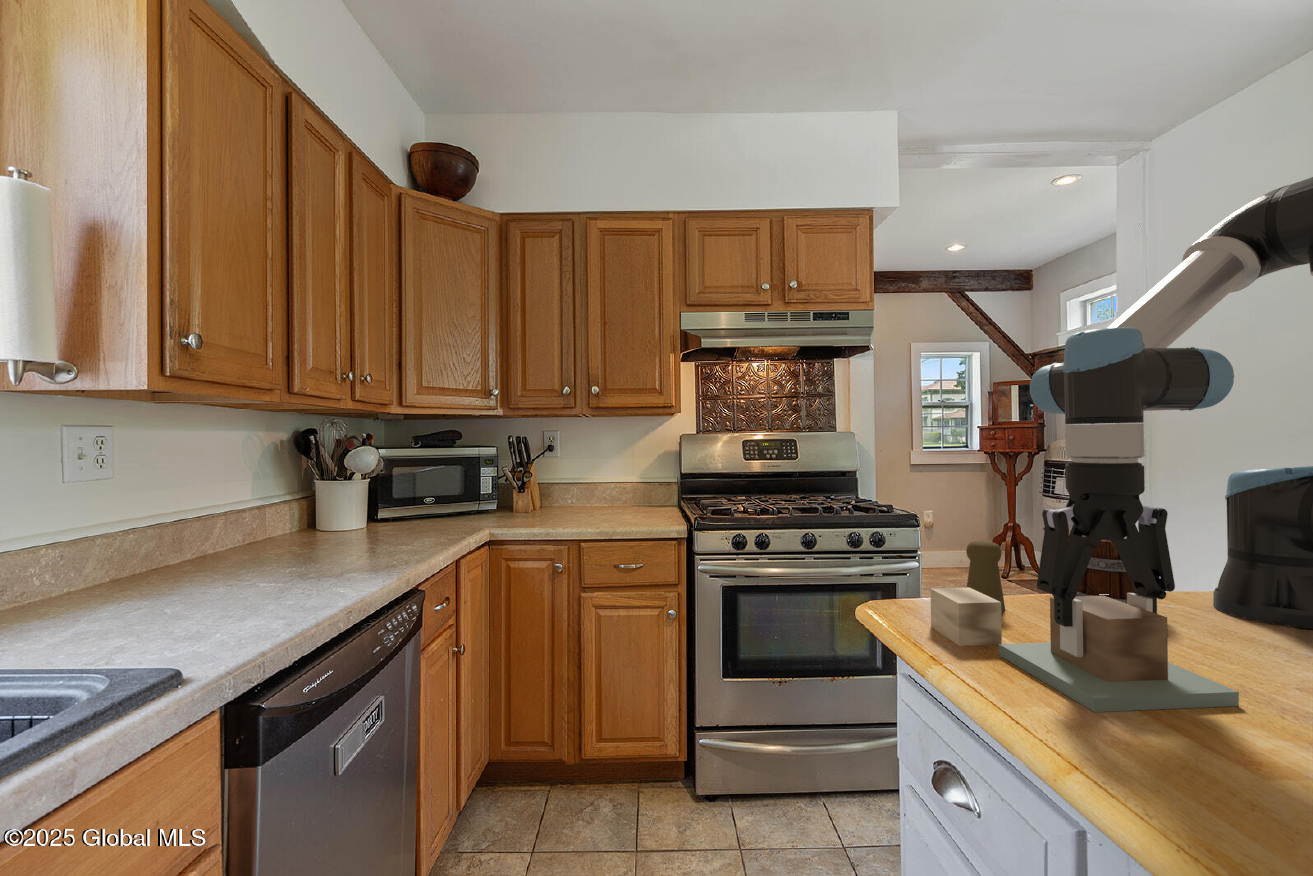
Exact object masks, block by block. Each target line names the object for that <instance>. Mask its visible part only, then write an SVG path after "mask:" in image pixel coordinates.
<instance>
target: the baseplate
mask: <svg viewBox="0 0 1313 876" xmlns="http://www.w3.org/2000/svg"><path fill="white" fill-rule="evenodd" d="M999 655H1000V656H999ZM998 656H999V657H1001V658H1003V659H1004V660H1006V659H1007V660H1006V661H1008V662H1009V661H1010V663H1011V664H1012V665H1014V664H1015V666H1016V665H1017V666H1016V667H1018V668H1020V669H1021V670H1023V671H1025V672H1026V673H1028V674H1029V673H1030V675H1031V676H1032V677H1035V678H1036V679H1038V680H1040V681H1041V682H1043V683H1044V684H1046V685H1048V686H1050V687H1051V688H1053V689H1055V690H1056V691H1058V692H1060V693H1062V694H1063V695H1065V696H1066V697H1068V698H1070V699H1072V700H1074V701H1075V702H1076V703H1078V704H1080V705H1081V706H1083V707H1085V708H1087V709H1089V710H1090V711H1092V712H1094V713H1101V712H1102V713H1104V712H1124V711H1126V712H1127V711H1128V712H1129V711H1146V710H1147V711H1149V710H1150V711H1153V710H1171V709H1172V710H1173V709H1175V710H1176V709H1195V708H1196V709H1197V708H1198V709H1199V708H1200V709H1201V708H1220V707H1221V708H1222V707H1223V708H1224V707H1240V693H1239V691H1238V690H1235V689H1233V688H1231V687H1228V686H1225V685H1223V684H1221V683H1219V682H1217V681H1215V680H1212V679H1209V678H1206V677H1204V676H1201V675H1200V674H1198V673H1195V672H1192V671H1190V670H1187V669H1185V668H1183V667H1181V666H1178V665H1175V664H1173V663H1171V662H1169V661H1168V680H1147V681H1120V682H1107V681H1105V680H1103V679H1101V678H1099V677H1097V676H1095V675H1093V674H1091V673H1090V672H1088V671H1086V670H1084V669H1082V668H1080V667H1078V666H1076V665H1074V664H1072V663H1070V662H1068V661H1066V660H1064V659H1063V658H1061V657H1059V656H1057V655H1055V654H1053V653H1051V641H1049V642H1027V643H1026V642H1024V643H1023V642H1022V643H1002V644H999V645H998Z"/></svg>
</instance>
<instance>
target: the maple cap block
mask: <svg viewBox="0 0 1313 876" xmlns="http://www.w3.org/2000/svg"><path fill="white" fill-rule="evenodd" d="M930 627H931V628H932V629H933V630H935V631H936V632H938V633H939V634H940V635H942V636H944V637H945V638H946V639H948V640H950V641H951V642H953V643H954V644H955V645H958V646H959V647H961V646H964V647H965V645H966V646H967V645H969V646H993V645H995V646H996V645H997V644H1003V640H1002V637H1003V636H1002V635H1003V634H1002V633H1003V631H1002V612H1001V602H999V601H997V600H995V599H993V598H991V597H989V596H987V595H984V594H982V593H980V592H978V591H976V590H974V589H971V588H967V587H940V588H939V587H938V588H936V587H935V588H934V587H933V588H930ZM997 646H998V645H997Z"/></svg>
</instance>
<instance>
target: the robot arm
mask: <svg viewBox="0 0 1313 876" xmlns="http://www.w3.org/2000/svg"><path fill="white" fill-rule="evenodd" d="M1182 255H1183V256H1182V259H1181V263H1180V264H1179V265H1178V266H1177V267H1175V268H1174V269H1173V270H1172V271H1170V272H1169V273H1168V274H1166V276H1165V277H1163V278H1162V279H1161V280H1160V281H1158V283H1156V284H1155V285H1154V286H1153V287H1152V288H1151V289H1150V290H1148V291H1147V292H1146V293H1144V294H1143V295H1142V296H1141V297H1139V299H1138V300H1137V301H1135V302H1134V303H1133V304H1132V305H1131V306H1130V307H1128V308H1127V309H1126V310H1125V311H1124V312H1123V313H1121V315H1119V316H1118V317H1117V318H1115V320H1113V321H1112V322H1110V324H1109V325H1107V326H1106V327H1105V328H1098V329H1097V328H1096V329H1089V330H1083V331H1080V332H1079V331H1078V332H1077V333H1073V334H1071V335H1070V336H1069V337H1067V339H1066V341H1065V342H1064V343H1065V345H1064V355H1063V362H1059V361H1058V362H1053V363H1052V364H1048V365H1044V366H1042V367H1040V368H1039V369H1038V370H1037V371H1035V372H1034V374H1033V376H1032V378H1031V380H1030V382H1029V383H1030V384H1029V394H1030V398H1031V400H1032V401H1033V404H1034V405H1035V407H1037V408H1038V409H1039V410H1040V411H1042V412H1043V413H1047V414H1053V415H1056V414H1057V415H1061V414H1063V415H1065V416H1064V423H1065V425H1064V441H1065V442H1064V444H1065V445H1064V446H1065V447H1064V449H1065V452H1064V453H1065V454H1064V455H1065V456H1066V457H1067V458H1071V461H1068V462H1067V463H1066V464H1064V465H1065V466H1064V467H1065V470H1064V472H1065V473H1064V474H1065V476H1064V477H1065V489H1066V491H1067V493H1068V497H1069V498H1068V501H1067V503H1066V505H1065V507H1062V508H1057V509H1051V508H1045V509H1043V511H1042V512H1041V515H1042V519H1043V520H1042V521H1043V524H1044V527H1045V531H1043V538H1042V548H1041V552H1040V553H1041V554H1040V559H1039V567H1038V574H1037V581H1036V587H1037V589H1038V590H1040V591H1042V592H1044V593H1047V594H1049V595H1052V597H1054V610H1055V611H1054V618H1055V621H1056V623H1057V624H1060V649H1062V650H1064V651H1066V652H1068V653H1070V654H1072V655H1074V656H1076V657H1083V601H1080V600H1078V599H1075V597H1076V594H1077V592H1078V589H1079V587H1080V584H1081V582H1082V579H1083V576H1084V574H1085V571H1086V569H1087V566H1088V564H1089V561H1090V559H1091V556H1092V554H1093V551H1094V549H1095V548H1097V547H1098V546H1099V545H1100V543H1101V540H1106V539H1110V541H1111V542H1113V543H1114V544H1115V546H1116V549H1117V551H1118V554H1119V556H1120V558H1121V561H1122V563H1123V565H1124V568H1125V570H1126V572H1127V575H1128V577H1129V579H1130V582H1131V584H1132V586H1133V589H1134V590H1135V591H1136V592H1137V594H1135V593H1127V604H1129V605H1132V606H1135V607H1138V608H1141V609H1144V610H1147V611H1150V612H1153V613H1156V614H1158V600H1161V601H1162V600H1164V599H1166V597H1167V592H1169V593H1171V592H1174V590H1175V588H1176V584H1175V583H1176V582H1175V579H1174V578H1175V577H1174V572H1173V566H1172V560H1171V556H1170V555H1171V554H1170V550H1169V548H1170V547H1169V542H1168V538H1167V536H1168V535H1167V531H1166V526H1167V522H1168V521H1167V519H1168V515H1169V514H1168V513H1169V512H1168V511H1167V509H1165V508H1163V507H1154V506H1143V503H1142V502H1141V499H1140V495H1142V494H1144V492H1145V491H1146V490H1145V488H1146V487H1145V486H1146V485H1145V483H1146V482H1145V481H1146V480H1145V465H1143V463H1141V462H1139V459H1141V458H1144V457H1145V432H1144V431H1145V429H1144V428H1145V427H1144V422H1145V421H1144V420H1145V419H1144V417H1145V416H1144V413H1145V412H1147V411H1149V412H1151V411H1175V410H1178V411H1194V410H1199V409H1208V408H1211V407H1213V406H1216V405H1218V404H1219V403H1221V402H1222V401H1223V400H1225V398H1226V397H1227V396H1228V395H1229V394H1230V392H1231V390H1232V389H1233V387H1234V384H1235V383H1234V382H1235V373H1234V367H1233V365H1232V363H1231V362H1230V361H1229V359H1228V358H1227V357H1226V356H1225V355H1224V354H1222V353H1221V352H1218V351H1216V350H1214V349H1213V350H1212V349H1207V348H1206V349H1205V348H1198V347H1195V346H1188V347H1170V346H1171V345H1172V344H1173V343H1174V342H1175V341H1176V340H1178V339H1179V338H1180V337H1181V336H1182V335H1184V333H1186V332H1187V331H1188V330H1189V329H1191V328H1192V326H1193V325H1195V324H1196V323H1197V322H1198V321H1200V319H1201V318H1203V317H1204V316H1205V315H1206V314H1207V313H1208V312H1209V311H1210V310H1212V309H1213V308H1215V306H1216V305H1218V304H1219V303H1220V302H1221V301H1222V300H1223V299H1224V298H1225V297H1227V296H1228V295H1230V294H1231V293H1237V292H1239V291H1242V290H1244V289H1246V288H1248V287H1250V285H1252V284H1253V283H1254V282H1255V281H1256V280H1258V279H1259V278H1262V277H1265V276H1267V275H1269V274H1272V273H1275V272H1279V271H1282V270H1285V269H1290V268H1293V267H1297V266H1304V265H1308V264H1309V270H1310V275H1311V277H1313V176H1312V177H1309V178H1306V179H1304V180H1301V181H1297V182H1294V183H1290V184H1287V185H1284V186H1281V187H1278V188H1275V189H1273V190H1271V191H1269V192H1266V193H1264V194H1262V195H1260V196H1258V197H1257V198H1255V199H1253V200H1251V201H1250V202H1248V203H1246V204H1245V205H1243V206H1242V207H1240V208H1238V209H1236V210H1235V211H1233V213H1231V214H1230V215H1228V216H1227V217H1225V218H1224V219H1222V220H1221V221H1220V222H1218V223H1217V224H1215V226H1213V227H1212V228H1211V229H1209V230H1208V231H1207V232H1205V233H1204V234H1203V235H1201V237H1200V238H1198V239H1197V240H1196V241H1194V243H1193V244H1191V245H1190V246H1189V247H1188V248H1187V249H1186V251H1185V252H1184V254H1182ZM1224 497H1225V498H1224V500H1225V501H1226V542H1227V558H1226V559H1227V560H1226V562H1225V566H1224V567H1223V570H1222V573H1221V575H1220V578H1219V580H1218V583H1217V587H1215V588H1214V590H1213V593H1212V597H1213V598H1212V599H1213V601H1212V602H1213V603H1212V605H1213V607H1214V608H1215V609H1217V610H1219V611H1221V612H1223V613H1226V614H1228V615H1232V616H1235V617H1238V618H1243V619H1247V620H1252V621H1257V622H1260V623H1266V624H1271V625H1279V626H1285V627H1290V628H1291V627H1292V628H1301V629H1302V628H1303V629H1312V630H1313V466H1308V465H1307V466H1291V467H1276V468H1273V467H1272V468H1259V469H1258V468H1257V469H1256V468H1255V469H1247V470H1246V469H1244V470H1237V471H1234V472H1233V473H1231V474H1230V475H1229V476H1228V478H1227V484H1226V494H1225V495H1224ZM1137 522H1138V524H1137ZM1136 524H1137V525H1138V526H1137V525H1136ZM1070 526H1071V530H1070V528H1069V527H1070ZM1082 535H1084V536H1085V537H1082ZM1068 538H1069V540H1070V542H1069V545H1068ZM1140 543H1141V544H1140ZM1067 545H1068V548H1067Z"/></svg>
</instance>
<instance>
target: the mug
mask: <svg viewBox="0 0 1313 876" xmlns="http://www.w3.org/2000/svg"><path fill="white" fill-rule="evenodd" d="M1042 530H1044V531H1045V526H1044V527H1043V528H1042ZM1044 531H1043V532H1044ZM1082 537H1085V536H1084V535H1082ZM1069 542H1070V540H1069V538H1068V545H1069ZM1140 544H1141V543H1140ZM1068 545H1067V548H1068ZM1127 593H1135V594H1137V592H1136V591H1135V590H1134V589H1133V586H1132V584H1131V582H1130V579H1129V577H1128V575H1127V572H1126V570H1125V568H1124V565H1123V563H1122V561H1121V558H1120V556H1119V554H1118V551H1117V549H1116V546H1115V544H1114V543H1113V542H1111V541H1110V539H1106V540H1101V543H1100V545H1099V546H1098V547H1097V548H1095V549H1094V551H1093V554H1092V556H1091V559H1090V561H1089V564H1088V566H1087V569H1086V571H1085V574H1084V576H1083V579H1082V582H1081V584H1080V587H1079V589H1078V592H1077V594H1076V596H1106V597H1109V598H1112V599H1115V600H1118V601H1121V602H1124V603H1126V604H1127ZM1099 594H1109V595H1099Z"/></svg>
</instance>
